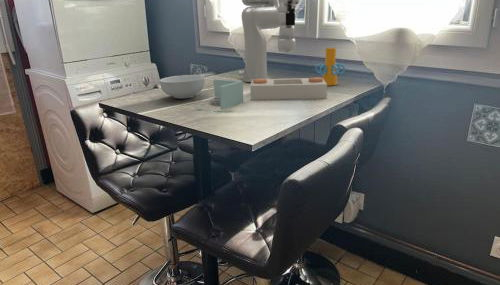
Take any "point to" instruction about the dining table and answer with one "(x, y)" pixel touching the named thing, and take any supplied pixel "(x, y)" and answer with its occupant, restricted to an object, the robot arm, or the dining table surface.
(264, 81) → the chicken egg
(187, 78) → the cereal bowl
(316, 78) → the brown egg
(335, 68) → the orange post blue wheels
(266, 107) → the dining table surface
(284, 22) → the gray metal bottle
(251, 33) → the robot arm
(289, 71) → the dining table surface
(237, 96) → the right angle wall
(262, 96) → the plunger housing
